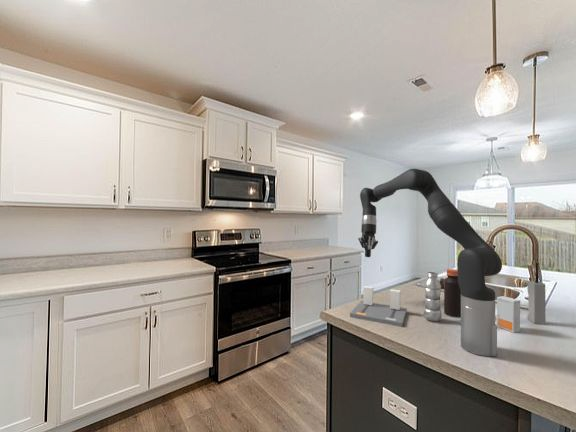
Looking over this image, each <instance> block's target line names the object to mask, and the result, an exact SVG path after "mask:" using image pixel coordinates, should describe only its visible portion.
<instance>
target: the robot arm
mask: <svg viewBox="0 0 576 432" xmlns="http://www.w3.org/2000/svg"><path fill="white" fill-rule="evenodd" d="M399 190H409V191H414V192H419V193H420V194H421V195H422V197H424V199H425V200H426V202H427V213H428V215H429V218H430V219H431V220H432V222H433V223H434V225H435V226H436V228H438V229H439V230H440V231H441V232H442V233H444V235H446V236H448V237H449V238H451V239H452V240H454V241H455V242H457V243H458V244H459V245H460V246H461V247H462V248H463V250H461V251H460V252H459V254H458V255H457V258H456V270H457V271H458V284H459V287H460V289H461V317H460V347H461V348H462V349H463V350H465V351H467V352H469V353H472V354H475V355H478V356H481V357H482V356H483V357H498V327H497V323H496V291H495V290H494V289H493V288H491V287H488V286H487V285H486V278H485V277H492V276H495V275H498V274H500V272H501V270H502V269H503V263H502V259H501V257H500V256H499V253H497V252H496V250H495V249H494V248H493V247H491V245H489V243H488V242H486V241H485V240H484V239H483V238H482V237H481V235H479V233H478V232H477V231H476V230H475V229H474V228H473V226H472V225H471V224H470V223H469V222H468V220H466V219H465V217H464V216H463V214H462V213H461V212H460V211H459V210H458V209H457V207H456V206H455V205H454V204H453V202H452V201H451V200H450V199H449V198H448V196H446V194H445V193H444V192H443V190H442V189H441V188H440V186H439V184H438V183H437V181H436V180H435V178H434V177H433V175H432V174H431V173H430V172H429V171H426V170H423V169H420V168H410V169H408V170H406V171H404V172H402V173H401V174H399V175H397V176H395V177H394V178H392V179H391V180H388V181H386V182H384V183H381V184H378V185H376V186H374V188H369V187H363V188H362V190H361V191H360V193H359V198H360V203H361V207H362V218H361V237H358V239H357V240H358V241H359V244H360V246H361V248H362V249H364V256H365V258H371V256H372V250H375V248H376V247H377V245H378V243H379V241H378V240H376V236H375V235H376V234H377V206H376V205H373V204H372V203H378V202H379V201H381V200H382V199H384V198H388V197H390V196H393V195H394V194H395V193H396V192H397V191H399Z"/></svg>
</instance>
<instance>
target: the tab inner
mask: <svg viewBox="0 0 576 432" xmlns="http://www.w3.org/2000/svg"><path fill="white" fill-rule="evenodd" d="M389 302H390V303H389V305H390V308H391V309H397V310H400V307H401V290H399V289H391V288H390V290H389Z"/></svg>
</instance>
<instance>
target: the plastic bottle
mask: <svg viewBox="0 0 576 432" xmlns="http://www.w3.org/2000/svg"><path fill="white" fill-rule="evenodd" d="M438 275H439V274H438V272H435V271H429V272H427V278H426V279H425V281H424V282H423V289H424V297H425V300H424V301H425V303H424V309H423V316H424V319H426V320H427V321H432V322H440V321H441V320H442V317H443V315H442V310H441V309H442V308H441V293H442V285H441V282H440V280H439V279H438V278H439V276H438Z"/></svg>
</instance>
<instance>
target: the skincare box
mask: <svg viewBox="0 0 576 432" xmlns="http://www.w3.org/2000/svg"><path fill="white" fill-rule="evenodd" d="M496 297H497V298H496V326H497V328H500V329H503V330H506V331H508V332H511V333H513V334H514V333H517V332H520V331H521V300H520V299H516V298H514V297H513V298H512V297H508V296H504V295H501V296H496Z"/></svg>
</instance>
